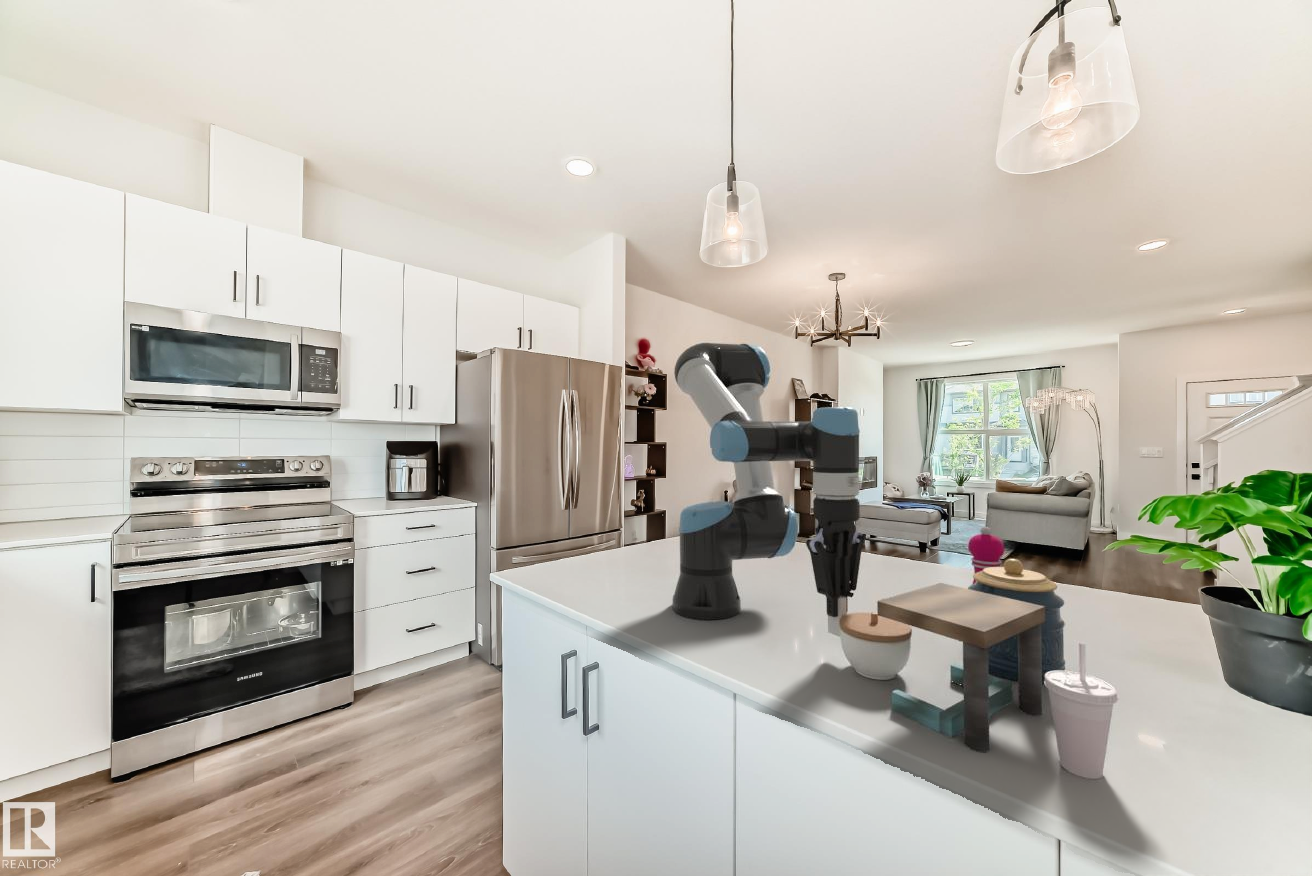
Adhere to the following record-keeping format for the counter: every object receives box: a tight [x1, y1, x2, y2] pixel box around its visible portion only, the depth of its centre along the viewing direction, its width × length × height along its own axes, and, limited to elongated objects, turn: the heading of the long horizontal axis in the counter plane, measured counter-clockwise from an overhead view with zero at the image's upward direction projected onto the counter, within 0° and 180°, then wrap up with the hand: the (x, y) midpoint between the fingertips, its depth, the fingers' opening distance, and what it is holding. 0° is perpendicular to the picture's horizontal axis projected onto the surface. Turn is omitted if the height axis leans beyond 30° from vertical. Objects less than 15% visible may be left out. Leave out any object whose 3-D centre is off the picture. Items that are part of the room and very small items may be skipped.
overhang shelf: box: [876, 582, 1045, 753], centre depth 70 cm, size 14×17×14 cm
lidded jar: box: [839, 611, 912, 681], centre depth 82 cm, size 11×11×9 cm
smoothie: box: [1043, 641, 1119, 780], centre depth 57 cm, size 6×6×14 cm
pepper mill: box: [967, 526, 1005, 585], centre depth 101 cm, size 7×7×20 cm
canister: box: [967, 558, 1066, 684], centre depth 83 cm, size 13×13×18 cm
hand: (837, 633), depth 87 cm, fingers closed
